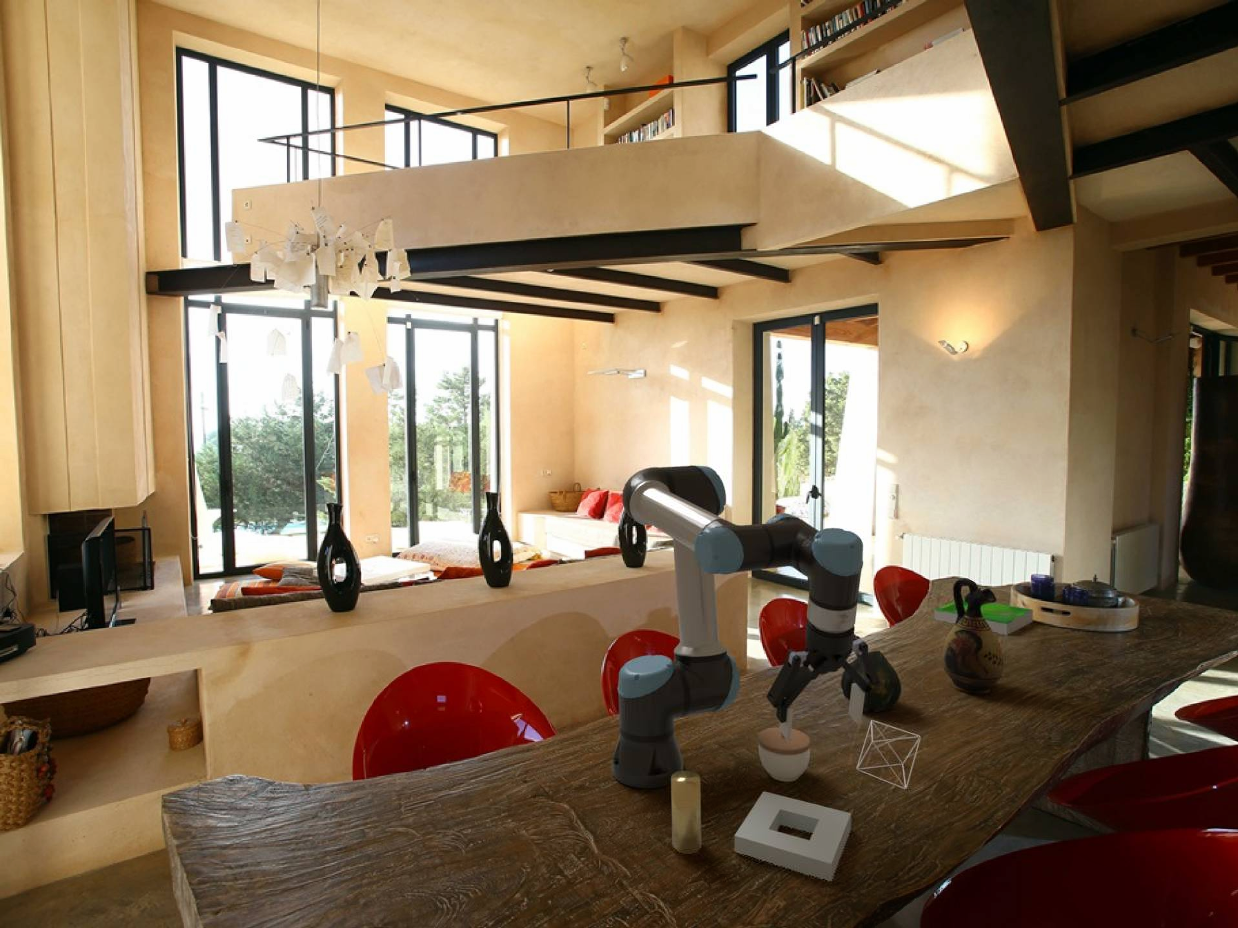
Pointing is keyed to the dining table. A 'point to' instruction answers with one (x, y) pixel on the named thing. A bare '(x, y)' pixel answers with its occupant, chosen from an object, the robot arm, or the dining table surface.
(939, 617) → the tray
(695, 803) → the gold cylinder
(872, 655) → the squash
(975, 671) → the ceramic jug
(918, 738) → the geometric polyhedron
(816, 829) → the frame
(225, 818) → the dining table surface
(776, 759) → the lidded jar
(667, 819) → the dining table surface
